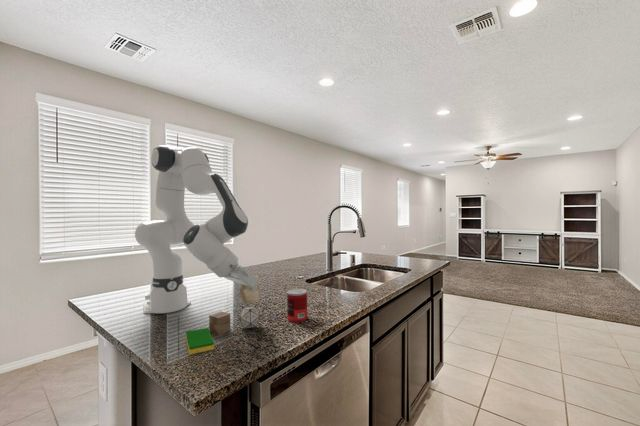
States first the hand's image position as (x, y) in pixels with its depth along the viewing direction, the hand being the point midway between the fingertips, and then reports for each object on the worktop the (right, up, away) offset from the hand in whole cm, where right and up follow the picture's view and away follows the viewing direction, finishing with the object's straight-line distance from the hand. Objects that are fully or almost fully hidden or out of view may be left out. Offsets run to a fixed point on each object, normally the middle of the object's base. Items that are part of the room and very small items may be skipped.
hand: (250, 287), depth 106 cm
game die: (0, -15, 0) cm, 15 cm away
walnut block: (-10, -15, -3) cm, 18 cm away
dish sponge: (-14, -16, -12) cm, 24 cm away
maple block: (0, -5, 0) cm, 5 cm away
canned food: (+16, -15, +8) cm, 23 cm away
